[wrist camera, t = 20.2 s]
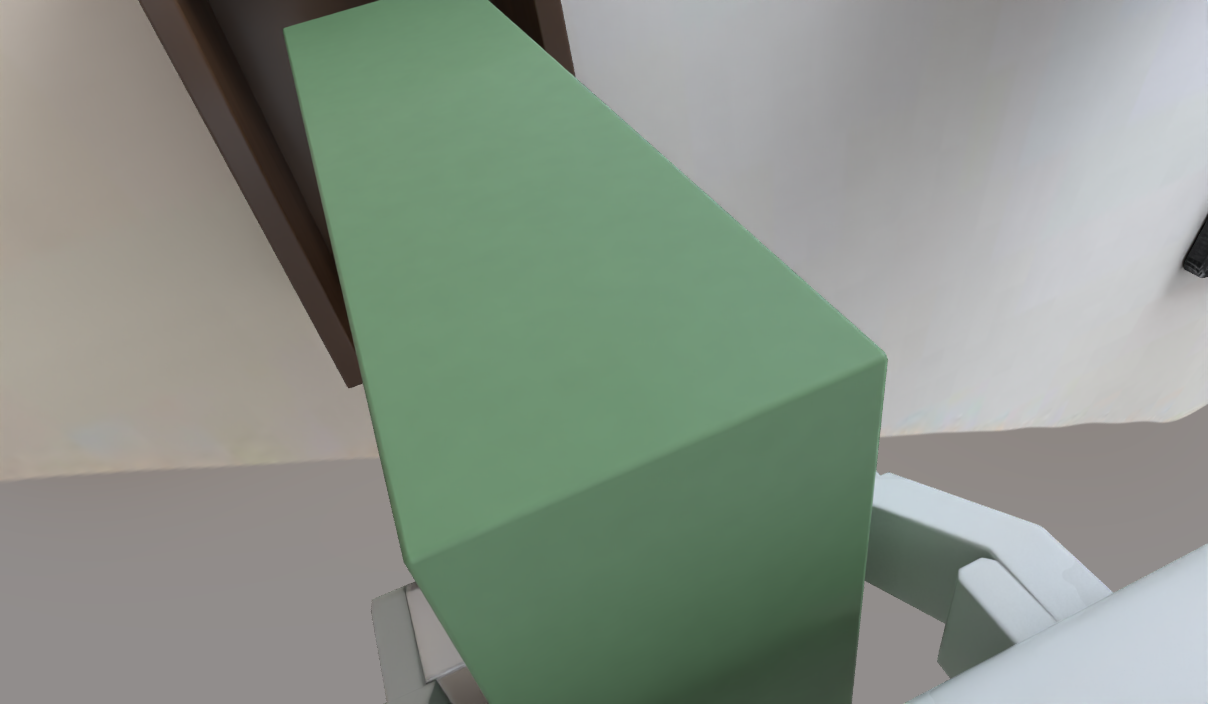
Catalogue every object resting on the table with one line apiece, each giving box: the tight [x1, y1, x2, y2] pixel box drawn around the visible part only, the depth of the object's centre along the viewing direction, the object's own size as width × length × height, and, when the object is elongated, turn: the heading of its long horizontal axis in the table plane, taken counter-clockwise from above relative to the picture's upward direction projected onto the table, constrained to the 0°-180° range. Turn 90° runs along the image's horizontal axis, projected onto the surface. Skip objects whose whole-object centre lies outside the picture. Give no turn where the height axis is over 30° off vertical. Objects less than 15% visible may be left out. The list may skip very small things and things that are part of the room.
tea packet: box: [283, 0, 888, 704], centre depth 15 cm, size 4×16×9 cm
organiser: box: [138, 0, 576, 388], centre depth 25 cm, size 10×15×7 cm
